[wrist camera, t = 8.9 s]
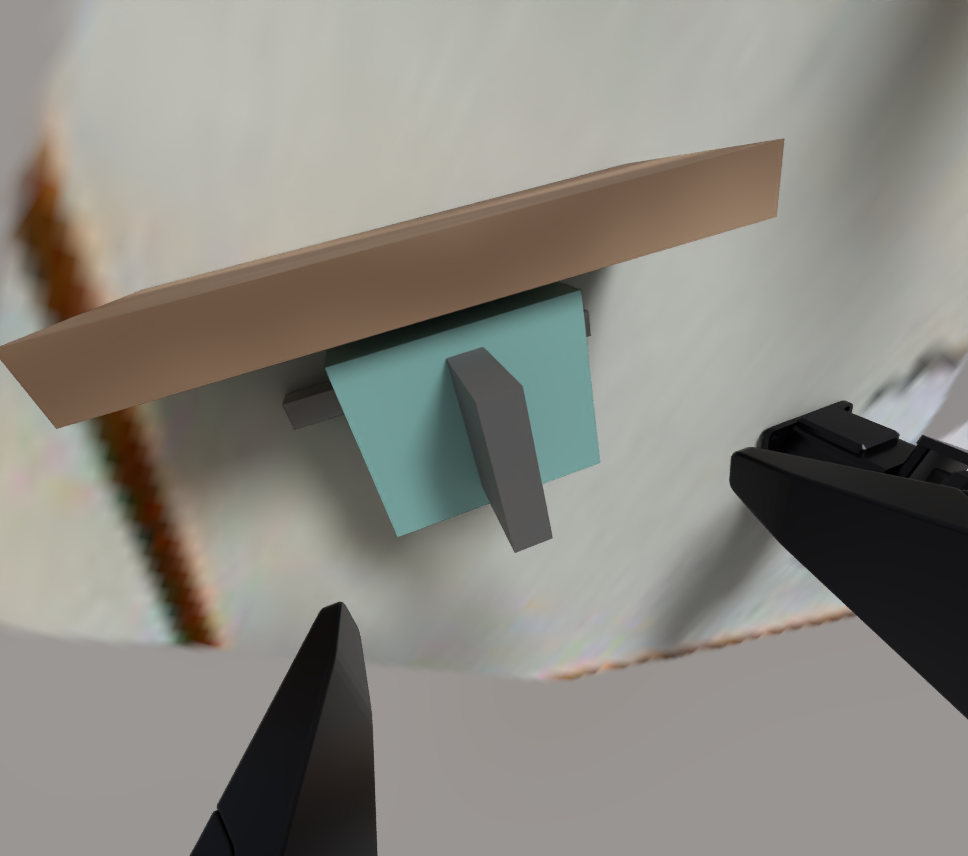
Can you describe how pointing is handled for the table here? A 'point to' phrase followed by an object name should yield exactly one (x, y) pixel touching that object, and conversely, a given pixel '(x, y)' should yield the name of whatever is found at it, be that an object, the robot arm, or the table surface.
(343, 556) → the table surface
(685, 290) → the table surface
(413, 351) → the teal handled box
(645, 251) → the brown wooden beam
